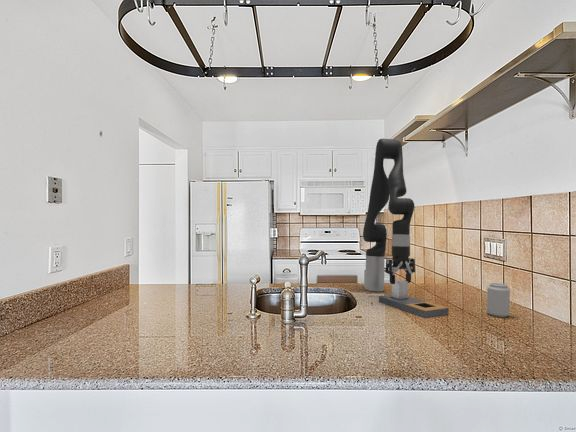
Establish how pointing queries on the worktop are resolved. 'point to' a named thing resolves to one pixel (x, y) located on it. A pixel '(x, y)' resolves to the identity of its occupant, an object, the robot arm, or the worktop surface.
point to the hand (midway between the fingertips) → (400, 283)
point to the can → (498, 299)
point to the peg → (400, 289)
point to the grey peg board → (415, 306)
